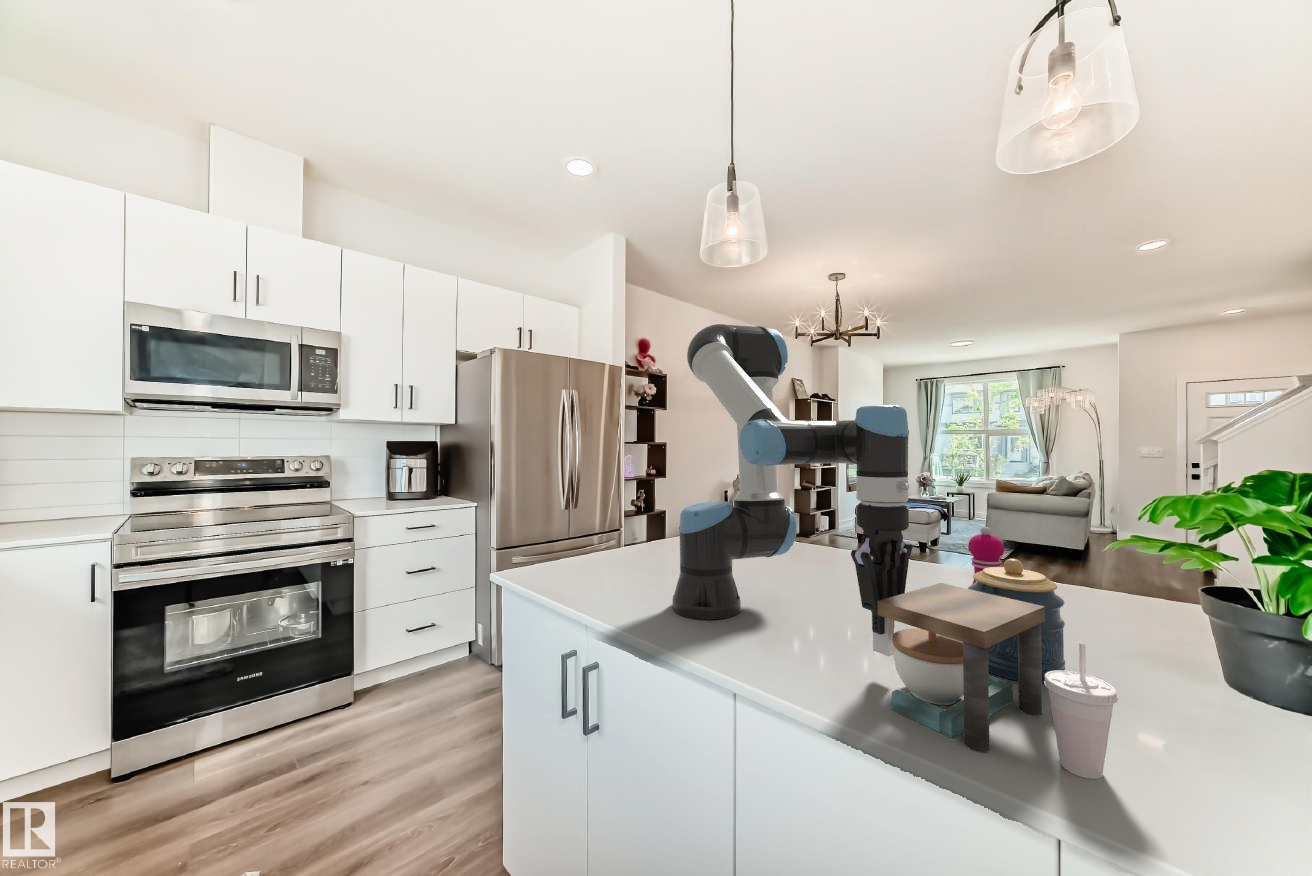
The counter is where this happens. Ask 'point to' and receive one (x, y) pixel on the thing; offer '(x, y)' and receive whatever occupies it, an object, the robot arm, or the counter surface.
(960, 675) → the lidded jar
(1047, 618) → the canister
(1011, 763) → the counter surface
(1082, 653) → the smoothie
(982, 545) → the pepper mill
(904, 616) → the overhang shelf
